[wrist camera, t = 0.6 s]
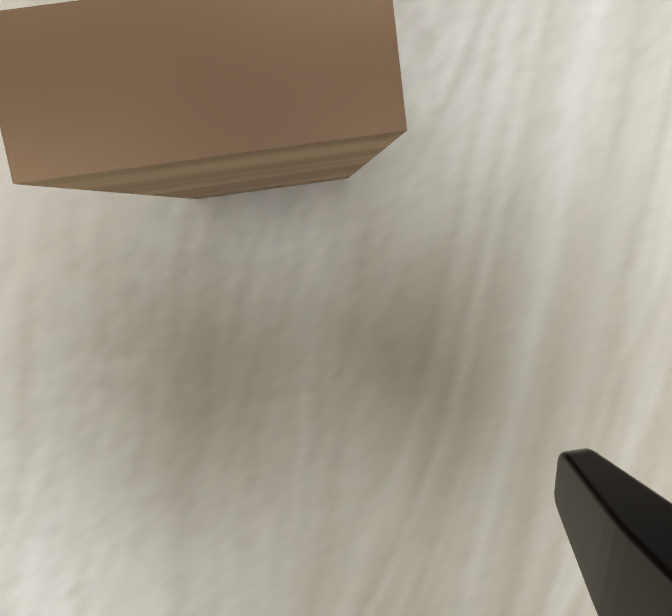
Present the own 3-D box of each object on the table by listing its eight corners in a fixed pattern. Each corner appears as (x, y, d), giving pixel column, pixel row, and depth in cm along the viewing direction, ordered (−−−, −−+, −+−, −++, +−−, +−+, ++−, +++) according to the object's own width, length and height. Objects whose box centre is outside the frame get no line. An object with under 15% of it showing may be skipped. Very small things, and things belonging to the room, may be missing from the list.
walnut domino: (347, 177, 23) (406, 130, 9) (195, 198, 22) (13, 183, 9) (339, 114, 22) (388, -40, 8) (184, 135, 22) (-26, 14, 8)
